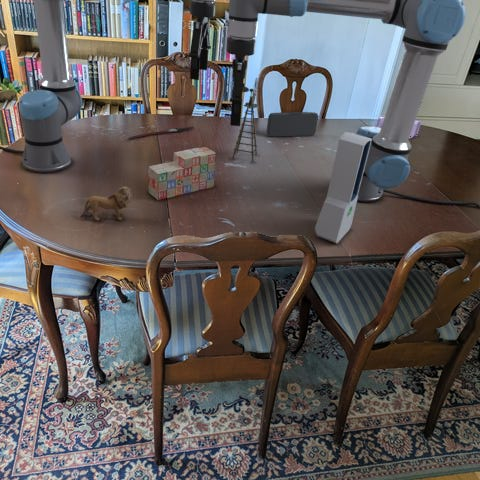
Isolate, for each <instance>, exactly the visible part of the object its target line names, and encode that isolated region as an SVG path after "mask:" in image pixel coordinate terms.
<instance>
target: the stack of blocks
mask: <svg viewBox="0 0 480 480" xmlns="http://www.w3.org/2000/svg"><path fill="white" fill-rule="evenodd" d="M216 159H217V153H216V152H215V151H213V150H212V149H210V148H208V147H207V146H203V147H202V146H201V147H194V148H190V149H185V150H181V151H175V152H173V161H169V162H163V163H158V164H155V165H150V166H148V175H147V176H148V180H147V181H148V194H150V195H151V196H152V197H153V198H155V199H156V200H157V201H161V200H165V199H170V198H174V197H178V196H182V195H185V194H189V193H194V192H198V191H203V190H206V189H207V190H208V189H211V188H214V187H215V176H216V175H215V173H216V166H217V165H216V164H217V163H216V162H217V160H216Z"/></svg>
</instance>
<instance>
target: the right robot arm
mask: <svg viewBox="0 0 480 480" xmlns="http://www.w3.org/2000/svg"><path fill="white" fill-rule="evenodd" d="M306 12H307V13H315V14H324V15H333V16H343V17H353V18H363V19H373V20H381V22H382V24H384V25H392V26H396V27H399V28H401V29H404V33H403V37H402V40H401V43H402V45H403V47H404V52H403V56H402V59H401V63H400V66H399V68H398V72H397V76H396V78H395V82H394V84H393V89H392V92H391V95H390V98H389V102H388V104H387V107H386V111H385V114H384V116H383V117H384V120H383V124H382V127H381V128H378V127H376V126H361V127H359V128H358V129H357V131H356V134H357V135H360V136H364V137H368V138H371V139H372V141H371V145H370V149H369V153H368V157H367V161H366V165H365V169H364V172H363V176H362V180H361V184H360V188H359V192H358V199H357V202H360V203H377V202H378V201H380V200H381V199H382V198H383V195H384V193H385V194H390V195H394V196H398V197H401V198H405V199H410V200H414V201H418V202H424V203H432V204H440V205H441V204H442V205H460V206H468V205H469V206H471V205H472V206H476V207H477V208H478V209H480V204H479V202H475V201H457V200H456V201H455V200H451V201H450V200H436V199H429V198H423V197H418V196H413V195H408V194H404V193H401V192H397V191H393V190H390V189H394V188H397V186H400V185H402V184H403V183H404V182H405V181H406V180H407V179H408V177H409V175H410V172H411V166H410V162H409V160H408V158H409V156H410V153H411V150H412V144H411V143H410V141H409V139H410V138H409V137H410V134H411V131H412V128H413V125H414V123H415V120H417V117H418V114H419V111H420V108H421V105H422V103H423V100H424V96H425V94H426V91H427V87H428V85H429V81H430V79H431V77H432V73H433V70H434V68H435V65H436V62H437V59H438V57H439V56H440V55H441V54H443V53H444V52H446V51H447V48H448V46H449V43H450V41H452V39H453V38H455V37H457V36H458V34H459V33H460V32H461V30H462V28H463V26H464V24H465V20H466V6H465V4H464V2H463V0H228V21H226V22H225V26H226V27H227V35H228V36H227V38H226V48H225V49H226V52H227V53H228V54H230V55H235V59H234V58H233V59H232V64H231V69H232V78H233V83H232V85H233V87H232V97H231V98H229V103H231V110H230V123H229V126H231V127H241V121H242V108H243V107H242V106H243V93H244V92H243V87H246V85H245V82H244V80H245V79H246V74H247V73H246V71H247V69H248V60H247V59H245V57H246V56H247V57H251V56H253V55H255V52H256V44H257V41H256V39H255V38H257V36H258V35H257V34H258V22H259V19H258V18H259V14H262V15H272V16H273V15H275V16H284V17H290V18H293V17H303V16H304V15H305V14H306Z"/></svg>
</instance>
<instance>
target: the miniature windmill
mask: <svg viewBox="0 0 480 480" xmlns="http://www.w3.org/2000/svg"><path fill="white" fill-rule="evenodd" d="M258 81H259V80H258V77H255V80H254V82H253V83H254V84H253V87H254V88H249V87H247V86H244V87H243V93H248V92H250V96H249V100H248V102H247V101H246V102H245V104H243V107H244V108H246V110H245V112H244V116H243V118H242V119H243V121H242V123H241V124H240V129H239V134H238V136H237V140H236V142H235V146H234V147H235V148H233V154H232V157H231V159H232V160H234V159H235V156H236V152H237V153H238V152H245V153H249V154H251V163H254V162H255V161H254V160H255V159H254V155H255V156H258V148H257V147H258V145H257V136H256V135H257V133H256V125H255V124H256V121H255V111H254V109H256V108H257V107H259V104H258V103H255V101H256V97H257V88H258V87H257V86H258ZM248 115H250V119H251V120H247V116H248ZM246 123H250V124H246ZM246 126H247V127H251V129H250V131H246V130H244V128H245V127H246ZM243 133H246V134H251V137H249V136H245V135H243ZM242 138H244V139H250V140H251V144H250V143H244V142H242V141H241V140H242ZM240 145H245V146H251V151H250V150H243V149H239V148H240Z"/></svg>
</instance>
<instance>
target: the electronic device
mask: <svg viewBox="0 0 480 480" xmlns="http://www.w3.org/2000/svg"><path fill="white" fill-rule="evenodd" d="M371 141H372V139H371V138H368V137H364V136H360V135H357V133H353V132H349V131H345V132H343V133H342V135H341V136H340V137H339V139H338V144H337V148H336V153H335V157H334V160H333V161H334V162H333V166H332V170H331V171H332V172H331V175H330V180H329V184H328V190H327V194H326V198H325V200H324V202H323V205H322V208H321V210H320V212H319V215H318V218H317V221H316V223H315V226H314V231H315V233H316V236H317V237H318V238H321V239H323V240H325V241H328V242H331V243H334V244H336V245H337V244H338V243H339V242H340V241H341V240H342V239H343V237H344V236H345V235H346V234H347V233H348V232H349V230H350V229H351V227H352V225H353V219H354V216H355V212H356V208H357V203H358V201H357V199H358V192H359V188H360V184H361V180H362V176H363V172H364V169H365V165H366V161H367V157H368V153H369V149H370V145H371Z"/></svg>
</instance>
